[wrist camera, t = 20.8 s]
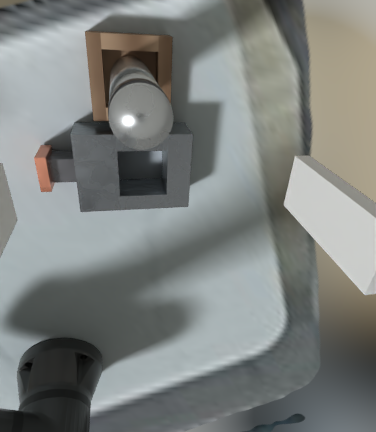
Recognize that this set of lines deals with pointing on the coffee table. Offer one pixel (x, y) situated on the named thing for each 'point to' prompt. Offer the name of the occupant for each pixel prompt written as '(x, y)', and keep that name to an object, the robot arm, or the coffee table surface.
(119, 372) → the coffee table surface
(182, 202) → the socket block
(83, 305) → the coffee table surface
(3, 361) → the coffee table surface
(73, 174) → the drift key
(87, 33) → the brown square tray
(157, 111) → the peg
